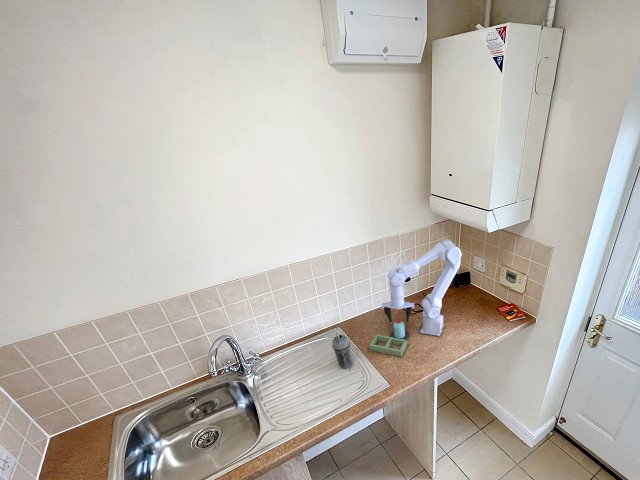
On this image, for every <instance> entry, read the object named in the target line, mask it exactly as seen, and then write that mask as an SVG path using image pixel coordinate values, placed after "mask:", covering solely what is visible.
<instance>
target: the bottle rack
mask: <svg viewBox="0 0 640 480" xmlns="http://www.w3.org/2000/svg"><path fill="white" fill-rule="evenodd" d="M378 342H383V343H386V344H385V345H384V346H382V345H378V344H377V343H378ZM392 345H398V346H400V348H399V349H397V348H393V347H391V346H392ZM407 346H408V339H406V340H403V339H398V338H392V337H391V336H387V335H381V334H375V336H374V337H373V339H372V340H371V342H370V343H369V345H368V347H369V351H372V352H373V351H374V352H378V353H383V354H386V355H387V354H388V355H392V356H397V357H402V356H403V354H404V352H405V351H406V348H407Z"/></svg>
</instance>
